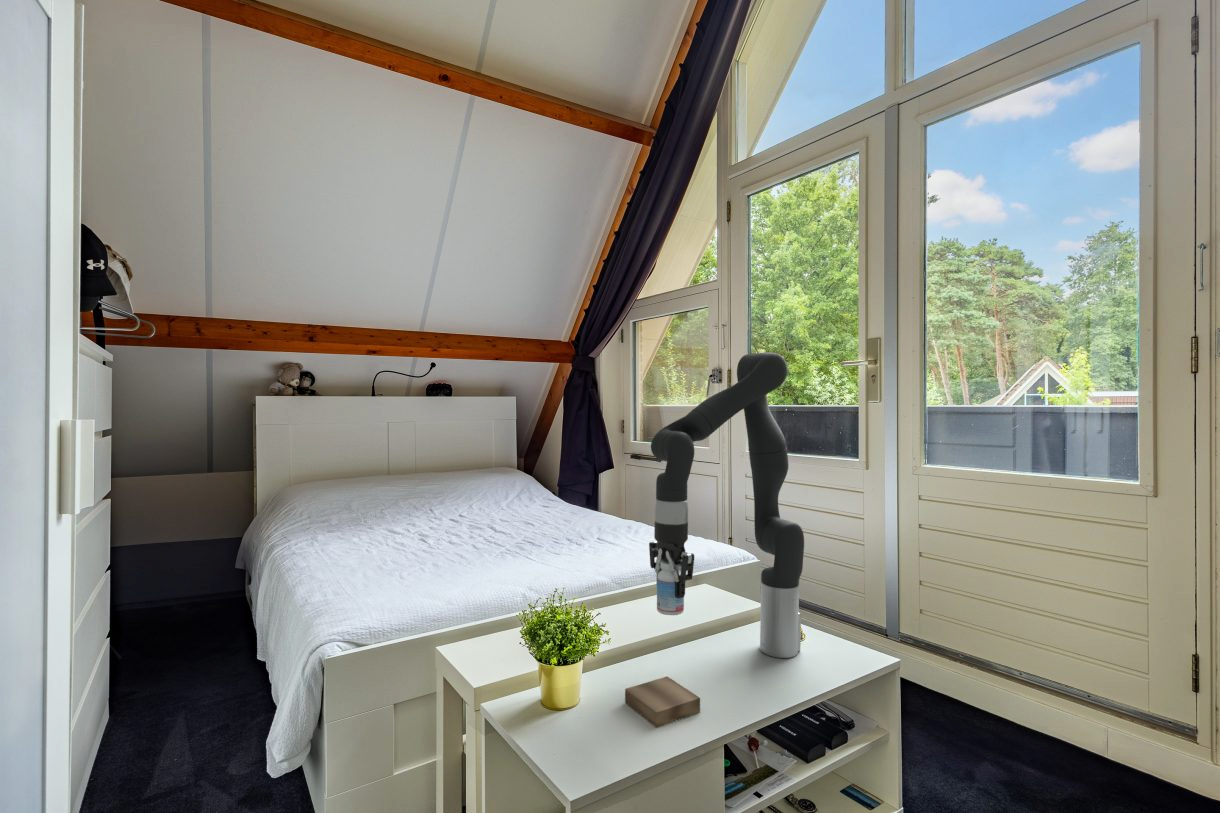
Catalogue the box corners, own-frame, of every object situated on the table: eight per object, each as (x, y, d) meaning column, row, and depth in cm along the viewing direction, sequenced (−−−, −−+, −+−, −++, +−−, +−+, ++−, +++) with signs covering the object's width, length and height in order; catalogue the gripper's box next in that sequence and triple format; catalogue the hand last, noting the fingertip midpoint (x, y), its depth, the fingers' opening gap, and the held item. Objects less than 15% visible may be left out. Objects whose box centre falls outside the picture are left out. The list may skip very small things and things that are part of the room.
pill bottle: (682, 617, 135) (683, 566, 135) (655, 615, 137) (655, 564, 136) (685, 607, 141) (685, 559, 141) (658, 605, 142) (659, 557, 142)
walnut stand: (667, 689, 134) (667, 676, 134) (700, 712, 125) (700, 697, 125) (625, 703, 128) (625, 688, 128) (656, 727, 119) (656, 712, 119)
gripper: (705, 523, 134) (704, 599, 135) (665, 512, 146) (664, 582, 147) (677, 527, 130) (676, 605, 131) (639, 515, 142) (638, 587, 143)
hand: (670, 592), depth 139 cm, fingers closed on pill bottle, 6 cm apart
